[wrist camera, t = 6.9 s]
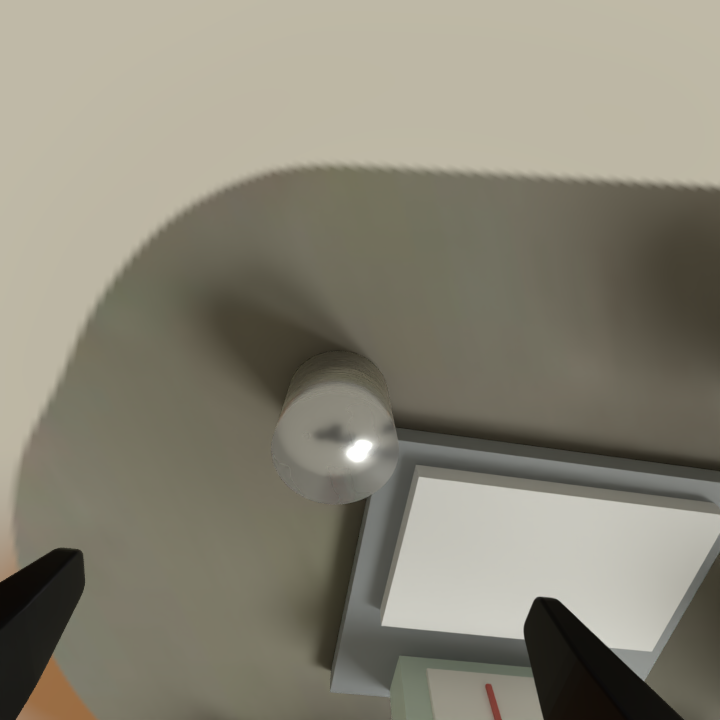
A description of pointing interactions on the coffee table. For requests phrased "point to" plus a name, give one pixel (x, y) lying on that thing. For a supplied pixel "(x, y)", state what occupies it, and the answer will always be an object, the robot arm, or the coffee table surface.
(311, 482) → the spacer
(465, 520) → the scale
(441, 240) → the coffee table surface
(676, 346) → the coffee table surface
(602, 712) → the robot arm
